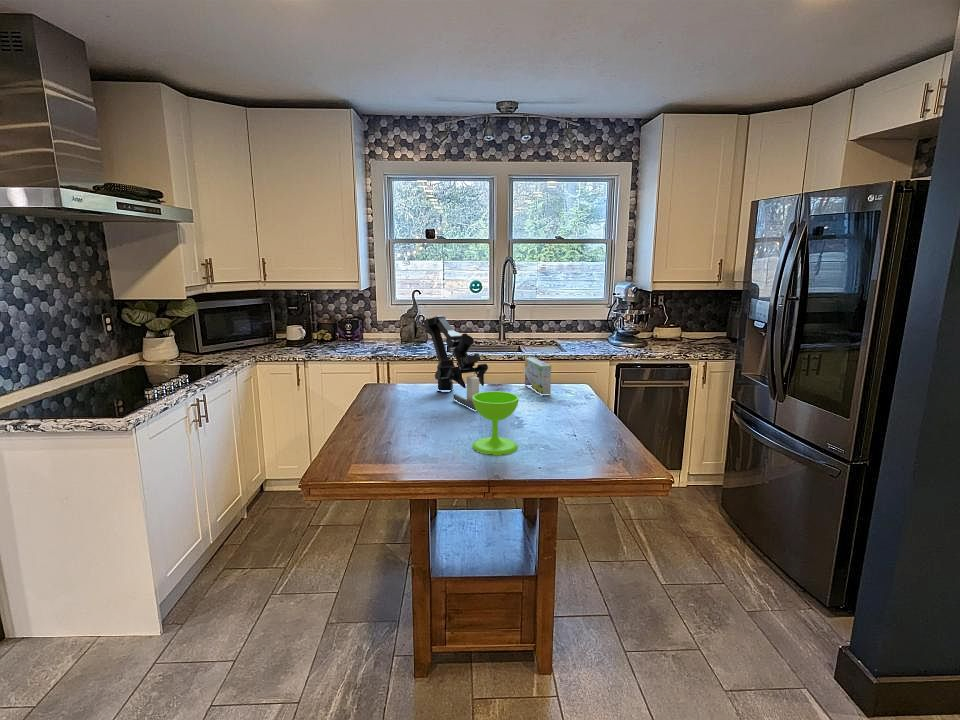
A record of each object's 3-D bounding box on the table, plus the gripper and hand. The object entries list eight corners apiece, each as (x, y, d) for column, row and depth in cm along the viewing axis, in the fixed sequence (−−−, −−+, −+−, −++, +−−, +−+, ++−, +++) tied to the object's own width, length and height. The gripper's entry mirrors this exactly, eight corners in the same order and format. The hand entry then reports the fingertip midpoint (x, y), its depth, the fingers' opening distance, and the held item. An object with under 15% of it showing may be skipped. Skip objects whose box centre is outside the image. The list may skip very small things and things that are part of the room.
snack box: (523, 386, 270) (524, 357, 267) (533, 385, 271) (534, 357, 268) (540, 396, 250) (541, 365, 247) (551, 395, 251) (552, 365, 249)
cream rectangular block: (466, 402, 236) (466, 376, 234) (473, 401, 238) (473, 375, 235) (472, 405, 232) (472, 379, 230) (478, 404, 234) (479, 378, 231)
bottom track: (453, 400, 241) (453, 394, 241) (470, 398, 246) (470, 392, 245) (475, 411, 224) (475, 404, 224) (492, 409, 229) (492, 402, 228)
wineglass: (526, 450, 180) (528, 399, 177) (486, 458, 172) (487, 406, 169) (502, 436, 194) (502, 389, 190) (463, 443, 186) (464, 394, 183)
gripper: (449, 349, 229) (462, 379, 222) (486, 346, 238) (499, 374, 231) (442, 363, 237) (453, 393, 230) (477, 360, 246) (489, 388, 239)
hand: (474, 386), depth 232 cm, fingers open, 9 cm apart
